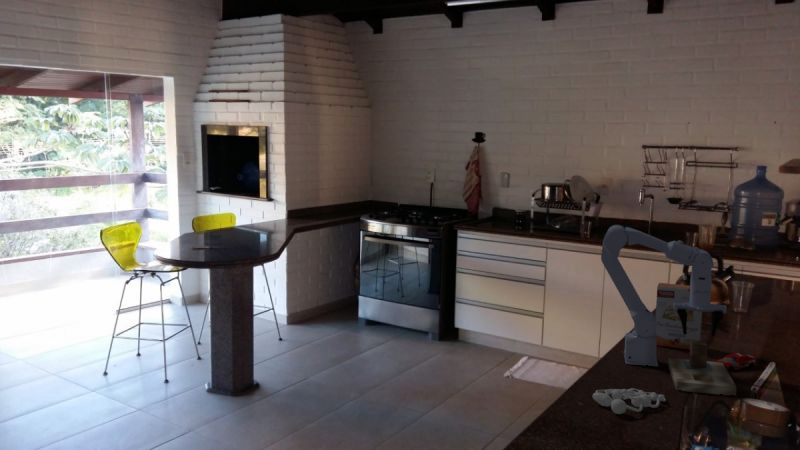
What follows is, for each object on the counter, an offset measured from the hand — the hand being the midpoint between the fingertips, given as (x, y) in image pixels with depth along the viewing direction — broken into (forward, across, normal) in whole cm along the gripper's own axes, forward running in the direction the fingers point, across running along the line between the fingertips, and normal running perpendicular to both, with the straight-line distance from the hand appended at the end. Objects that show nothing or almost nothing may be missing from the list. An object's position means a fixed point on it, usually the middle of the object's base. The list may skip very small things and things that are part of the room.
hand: (698, 334), depth 193 cm
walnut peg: (+8, -1, -6) cm, 10 cm away
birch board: (+10, -1, -11) cm, 15 cm away
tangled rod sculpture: (+11, -22, -34) cm, 42 cm away
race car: (+11, +11, +4) cm, 16 cm away
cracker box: (+11, -3, +20) cm, 23 cm away
